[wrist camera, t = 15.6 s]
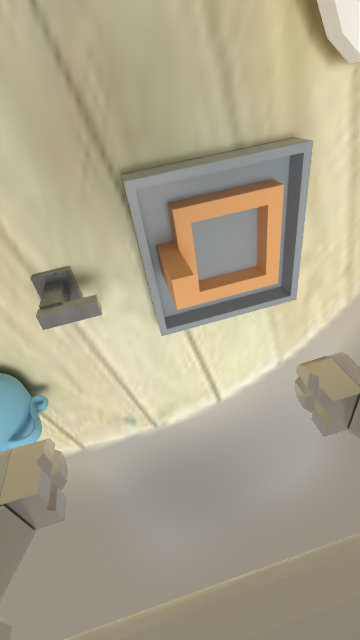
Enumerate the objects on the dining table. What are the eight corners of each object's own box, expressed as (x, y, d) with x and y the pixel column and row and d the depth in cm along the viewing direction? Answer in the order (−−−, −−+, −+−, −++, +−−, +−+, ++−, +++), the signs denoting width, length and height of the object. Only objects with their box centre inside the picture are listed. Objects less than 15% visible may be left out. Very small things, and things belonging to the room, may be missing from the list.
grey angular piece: (32, 275, 40) (20, 308, 33) (92, 260, 40) (92, 290, 34) (47, 306, 43) (40, 341, 36) (103, 292, 43) (105, 324, 37)
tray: (120, 174, 35) (123, 181, 32) (294, 137, 37) (313, 140, 34) (157, 320, 49) (161, 336, 46) (283, 287, 51) (296, 299, 48)
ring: (272, 179, 39) (318, 199, 31) (268, 274, 47) (304, 308, 39) (147, 207, 37) (163, 236, 29) (167, 300, 46) (183, 341, 38)
